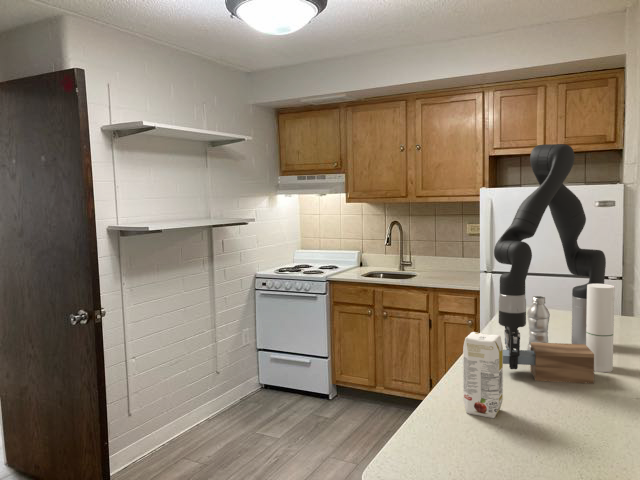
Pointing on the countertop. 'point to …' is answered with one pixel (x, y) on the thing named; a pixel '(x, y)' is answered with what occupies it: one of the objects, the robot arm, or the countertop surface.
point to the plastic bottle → (538, 321)
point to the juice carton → (482, 374)
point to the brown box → (563, 362)
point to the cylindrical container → (600, 325)
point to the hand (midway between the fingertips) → (511, 364)
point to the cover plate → (521, 357)
